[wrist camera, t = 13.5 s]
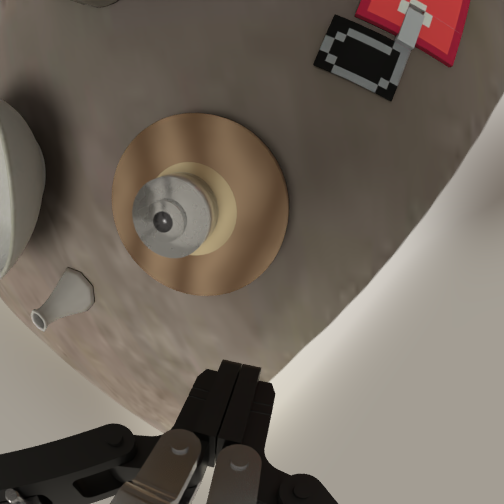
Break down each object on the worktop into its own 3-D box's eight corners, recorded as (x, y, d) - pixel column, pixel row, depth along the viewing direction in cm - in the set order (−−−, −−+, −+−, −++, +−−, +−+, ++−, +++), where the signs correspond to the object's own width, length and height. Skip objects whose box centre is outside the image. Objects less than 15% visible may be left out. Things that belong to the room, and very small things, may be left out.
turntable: (126, 267, 39) (115, 276, 36) (127, 112, 31) (114, 112, 29) (274, 300, 36) (271, 312, 34) (302, 124, 28) (301, 123, 26)
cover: (151, 242, 34) (130, 257, 29) (147, 171, 30) (123, 178, 26) (218, 249, 32) (204, 267, 28) (219, 172, 29) (203, 180, 25)
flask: (92, 316, 44) (55, 352, 35) (60, 292, 44) (22, 322, 35) (99, 284, 41) (57, 319, 32) (65, 259, 41) (21, 288, 32)
